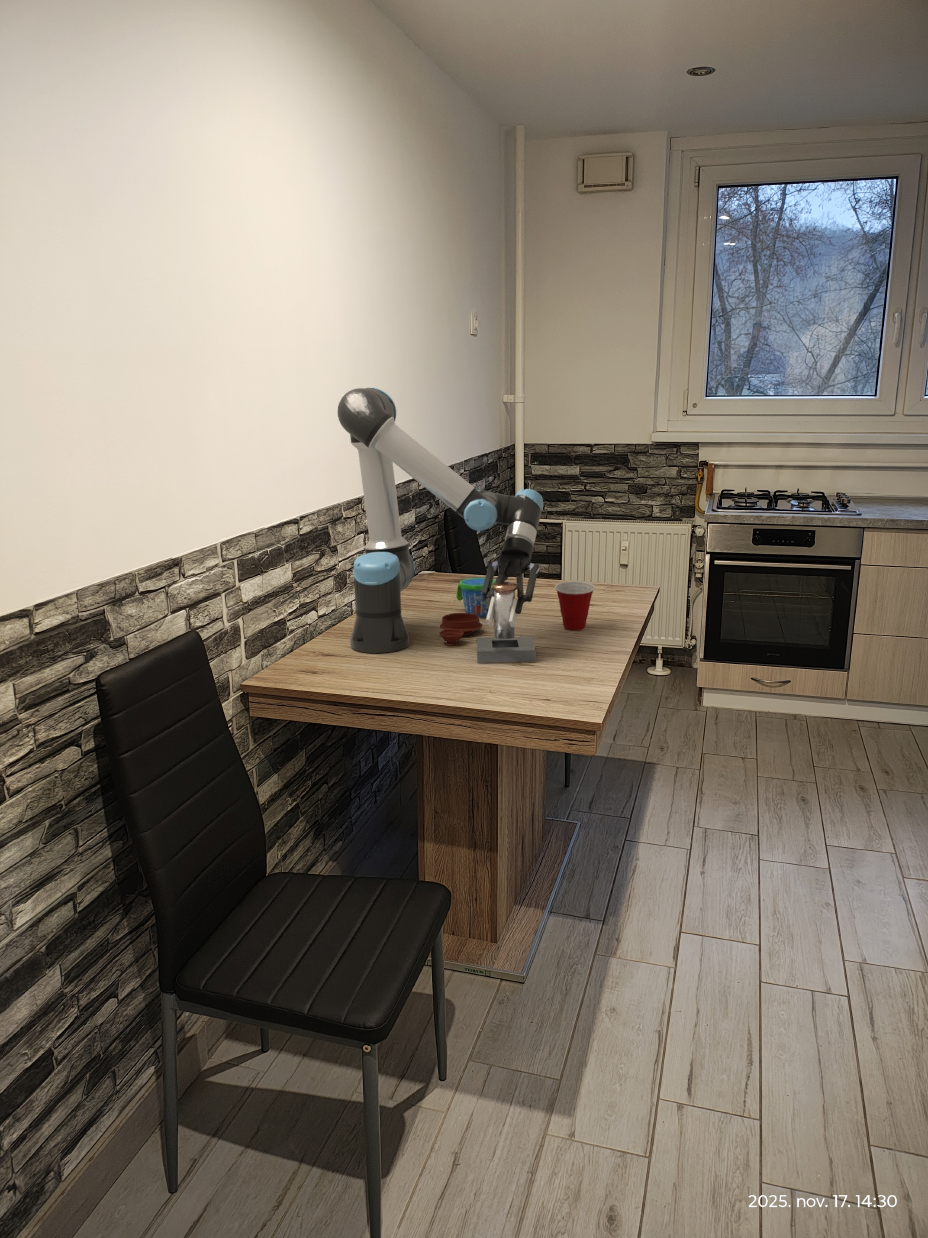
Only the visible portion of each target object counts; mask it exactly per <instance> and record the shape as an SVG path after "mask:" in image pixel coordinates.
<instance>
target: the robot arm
mask: <svg viewBox="0 0 928 1238" xmlns="http://www.w3.org/2000/svg"><path fill="white" fill-rule="evenodd" d="M396 407H397V406H396V403H395V401H394V399H393V398H392V397H391V396H390V395H389V394H388V393H387V392H385V391H384V390H382V389H380V388H376V387H365V388H363V387H362V388H361V387H360V388H359V387H358V388H353V389H351V390H349V391H347V392H346V393H344V395H343V396H342V397H341V399H340V401H339V402H338V405H337V418H338V421H339V423H340V425H341V427H342V428H343V429H344V430H345V431H346V432H347V433H348V434H349V436H350V444H351V445H352V446H353V447H354V448H356V450H357V451H358V453H357V454H358V460H359V468H360V477H361V483H362V491H363V492H362V493H363V497H364V499H363V500H364V506H365V507H364V508H365V514H366V523H367V529H368V538H369V540H368V542H367V543H366V545H365V546H364V551H365V553H364V554H362V555H360V556H357V558H355V560H354V561H353V570H352V576H353V585H354V603H355V621H354V625H353V629H352V632H351V636H350V648H351V649H352V650H355V651H356V652H359V653H369V654H382V653H392V652H397V651H400V650H403V649H405V648H407V647H408V646H409V645H410V636H409V633H408V630H407V627H406V624H405V622H404V618H403V615H402V602H401V601H402V600H401V599H402V598H401V593H402V591H404V590H405V589H406V588H408V587H409V585H410V583H412V580H413V578H414V574H415V567H416V566H415V561H414V559H413V557H412V556H411V554H410V550H409V549H410V548H409V542H408V540H406V539H405V538H404V537H403V536H402V529H401V523H400V522H401V521H400V513H399V504H398V503H399V502H398V497H397V488H396V487H397V486H396V480H395V471H394V464H395V465H396V466H397V467H398V468H400V469H401V470H402V471H404V473H406V474H408V475H409V476H410V477H411V478H413V479H414V480H415V481H416V482H417V483H419V484H420V485H421V486H423V487H424V488H425V489H426V490H427V491H429V492H430V493H431V494H432V495H434V496H435V497H436V498H438V499H439V500H441V501H442V502H443V503H444V504H445V505H446V506H448V507H449V508H451V510H453V511H454V512H455V513H456V514H458V515H459V516H460V517H461V518H462V519H464V522H465V524H466V526H467V527H469V528H470V529H472V530H473V531H477V532H478V531H480V532H481V531H486V530H488V529H490V528H491V527H492V526H494V524H495V523H497V524H502V525H507V530H506V534H505V537H504V542H503V545H502V550H501V552H500V557H499V558H498V559H497V560H496V561H492V560H488V561H486V564H487V565H486V567H487V570H486V574H485V576H484V578H485V581H484V585H483V588H482V595H483V597H484V599H487V603H486V610H487V612H488V614H487V617H485V618H486V622H487V625H488V626H492V625H493V622H494V621H493V620H494V590H493V589H492V588H491V585H492V581H493V579H494V577H495V572H496V571H497V570H498V569H497V568H498V567H499V568H500V570H499V572H498V575H497V577H496V579H495V582H494V583H498V582H507V580H508V578H509V577H510V578H511V577H513V578H515V579H516V584H517V595H516V596H517V598H514V601H513V605H512V609H511V614H510V618H509V623H510V626H511V627H514V625H515V623H516V621H517V615H521V613H522V612H523V611H522V610H523V606H524V603H526V602H528V603H531V602H532V600H533V596H534V591H535V588H536V582H537V577H538V575H539V574H540V573H541V568H540V564H539V563H536V562H535V563H532V562H531V559H532V554H533V551H534V545H535V542H536V537H537V533H538V529H539V524H540V521H541V516H542V511H543V507H544V506H543V505H544V499H543V497H542V495H541V494H540V493H539V492H538V491H536V490H534V489H531V488H526V489H519V490H518V491H517V492H516V494H515V495H507V494H502V493H497V492H493V491H487V490H485V489H476V487H474V486H473V485H472V484H471V483H469V482H468V481H467V480H466V479H465V478H463V477H462V476H461V475H460V474H458V473H457V472H456V471H454V470H453V469H452V468H450V466H448V465H447V464H445V463H444V462H443V461H442V460H440V459H439V458H438V457H437V456H436V455H435V454H433V453H432V452H431V451H429V450H428V449H427V448H426V447H424V446H423V445H422V444H421V443H419V442H418V441H417V440H416V439H414V438H413V437H412V436H411V435H409V434H408V433H407V432H405V431H404V430H403V429H401V427H399V426H398V425H397V424H396V423H395V422H396V419H397V408H396ZM528 570H529V575H528V580H527V584H526V589H525V593H524V574H525V573H526V572H527V571H528ZM490 589H491V590H490ZM515 626H516V625H515Z"/></svg>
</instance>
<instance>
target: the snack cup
mask: <svg viewBox="0 0 928 1238" xmlns="http://www.w3.org/2000/svg"><path fill="white" fill-rule="evenodd" d="M484 581H485V577H471V578H465V579H463V580H460V581H459V583H458V586H457V588H456V599H457V601H463V607H464V613H472V614H476V615H478V616H479V617H480V618H487V614H488V612H487V610H486V603H487V599H484V597H483V595H482V588H483V585H484ZM495 581H496V579H494V578H493V581H492V584H494V582H495ZM491 588H492V585H491ZM490 590H491V589H490Z"/></svg>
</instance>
